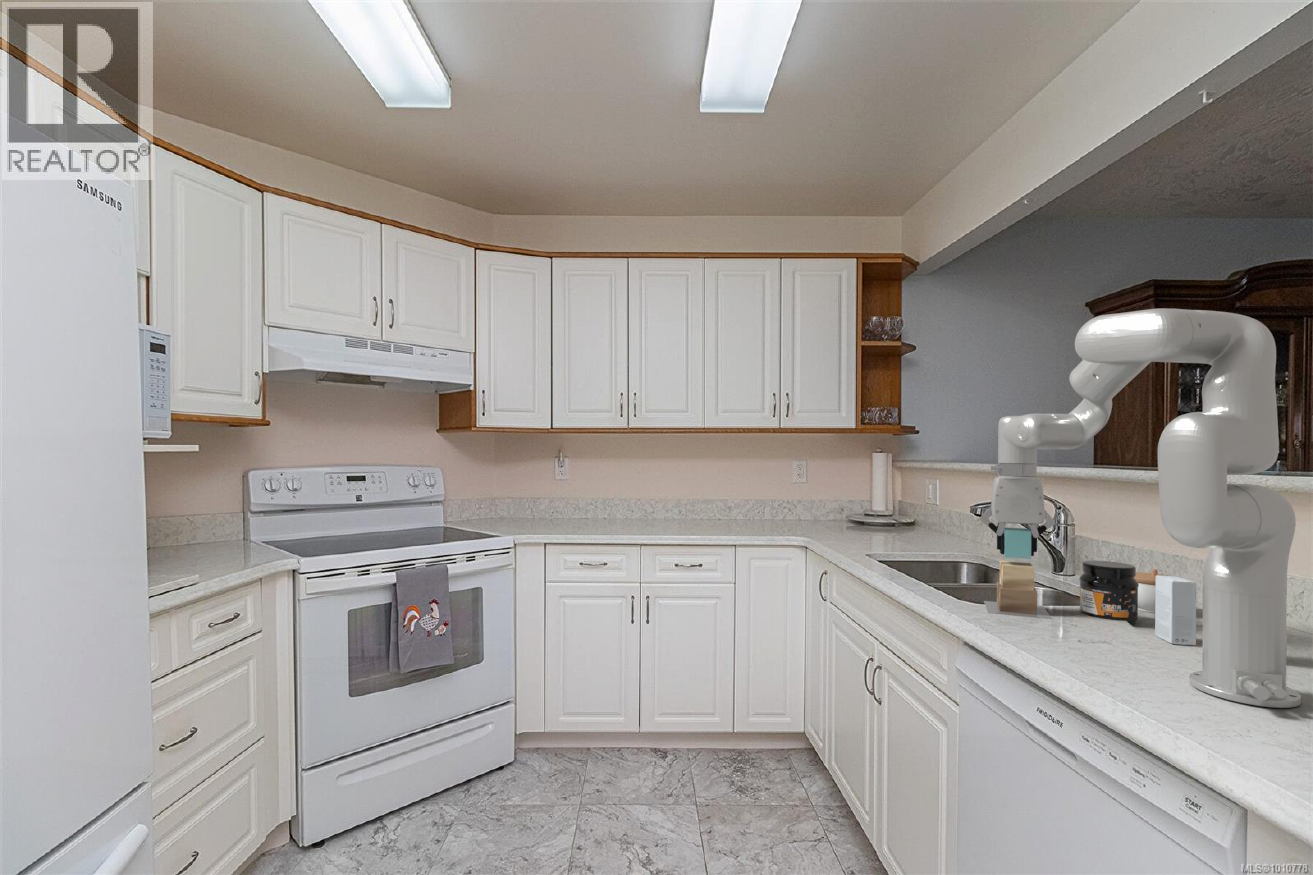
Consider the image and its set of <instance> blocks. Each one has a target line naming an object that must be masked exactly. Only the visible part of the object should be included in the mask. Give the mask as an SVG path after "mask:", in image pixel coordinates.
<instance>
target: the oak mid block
mask: <svg viewBox="0 0 1313 875" xmlns="http://www.w3.org/2000/svg"><path fill="white" fill-rule="evenodd" d="M999 582H1000V584H1001V586H1002V588H1007V589H1019V590H1031V591H1034V588H1035V566H1034V565H1033V564H1031V562H1026V561H1025V562H1024V561H1023V562H1022V561H1008V560H999Z"/></svg>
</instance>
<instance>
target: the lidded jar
mask: <svg viewBox="0 0 1313 875" xmlns="http://www.w3.org/2000/svg"><path fill="white" fill-rule="evenodd" d="M1157 575H1158V576H1171V575H1169V574H1162V573H1158V569H1153V568H1152V569H1151V572H1141V571H1140V572H1139V571H1138V572H1137V571H1136V576H1134V578H1135V579H1136V581H1137V582H1138V583H1139V587H1138V611H1142V612H1146V613H1150V614H1155V596H1156V594H1155V593H1156V576H1157Z"/></svg>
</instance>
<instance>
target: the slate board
mask: <svg viewBox="0 0 1313 875" xmlns="http://www.w3.org/2000/svg"><path fill="white" fill-rule="evenodd" d="M983 603H984V606H985V608H986V610H987V613H988V614H995V615H1005V616H1014V617H1015V616H1016V617H1024V618H1035V619H1045V620H1053V618H1052V616H1051V615H1050V614H1049V612H1048V611H1047V609H1046V608H1045V607H1044V606H1043V605H1037V615H1033V614H1022V613H1012V612H1001V611H1000V610H999V608H998V606H997V601H990V600H983Z"/></svg>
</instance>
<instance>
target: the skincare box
mask: <svg viewBox="0 0 1313 875" xmlns="http://www.w3.org/2000/svg"><path fill="white" fill-rule="evenodd" d="M1155 594H1156V596H1155V613H1154V615H1155V617H1154V619H1155V621H1154V624H1155V625H1154V627H1155V628H1154V636H1156V637H1157V638H1159V639H1161V640H1163V641H1166V642H1168V643H1170V644H1171V645H1179V646H1180V645H1183V646H1196V645H1197V582H1196V581H1192V580H1189V579H1186V578H1184V577H1180V576H1173V575H1170V576H1158V575H1157V576H1156V593H1155Z"/></svg>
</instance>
